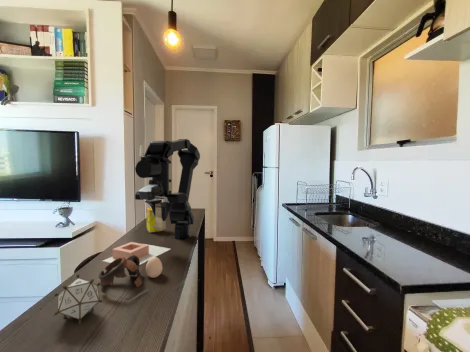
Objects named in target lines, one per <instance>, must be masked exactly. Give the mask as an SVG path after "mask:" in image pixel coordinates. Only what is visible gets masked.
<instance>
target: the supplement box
mask: <svg viewBox="0 0 470 352" xmlns="http://www.w3.org/2000/svg"><path fill="white" fill-rule="evenodd" d="M145 210H146V211H145V212H146V216H145V217H146V232H147V233H149V234H152V233H160V232H163V231H164V229H163V230H156V228H155V216H154V213H153V210H152V208H151V207H146V209H145Z"/></svg>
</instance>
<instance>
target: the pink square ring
mask: <svg viewBox="0 0 470 352" xmlns="http://www.w3.org/2000/svg"><path fill="white" fill-rule="evenodd" d="M149 245H150V244H148V245H146V243H139V242H135V241H130V242H127V243H125V244H122V245H119V246H117V247H115V248H112V249H111V251H112V257H113V258H115V259H118V258H120V257H125V259H127V258H128V257H130V256H132V255H135V256H137V257H138V258H141V257H143V256H145V255H147V254H149Z"/></svg>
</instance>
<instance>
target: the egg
mask: <svg viewBox="0 0 470 352" xmlns="http://www.w3.org/2000/svg"><path fill="white" fill-rule="evenodd" d="M146 262H147V263H146V265H145V273H146V275H147V276H148V277H149V278H153V279H154V278H157V277H159V276H160V275H161V273H162V272H163V263H162V261H161V260H160V258H159V257H158V256H156V257H153V258H151V259H150V260H148V261H146Z"/></svg>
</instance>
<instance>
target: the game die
mask: <svg viewBox="0 0 470 352" xmlns="http://www.w3.org/2000/svg"><path fill="white" fill-rule="evenodd" d="M94 281H95V279H94V278H93V279H91V280H88V279H87V280H86V279H84V278H80V274H78V273H77V275H76V278H75V279H74V280H73V281H72V282H71V283H69V284H68V285H67V286H66V285H62V289H63V290H62V291H60V292H59V293H54V294H53V296H54V297H57V311H55V312H54V313H53V316H54V317H55V316H57V315H58V314H60V315H63V317H64V318H66V317H67V316H68V317H70V318H72V319H76V320H78V324H79V325H81V324H82V318H84V317H85V316H86V315H87V314H88V313H89V312H90V311H91V310H92V309H94V308H95V306H96V305H97V304H98V303H103V302H104V300H103V299H100V293H99V288H98V287H100V286H101V285H100V284H101V283H100V282H99V283H94Z"/></svg>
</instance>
